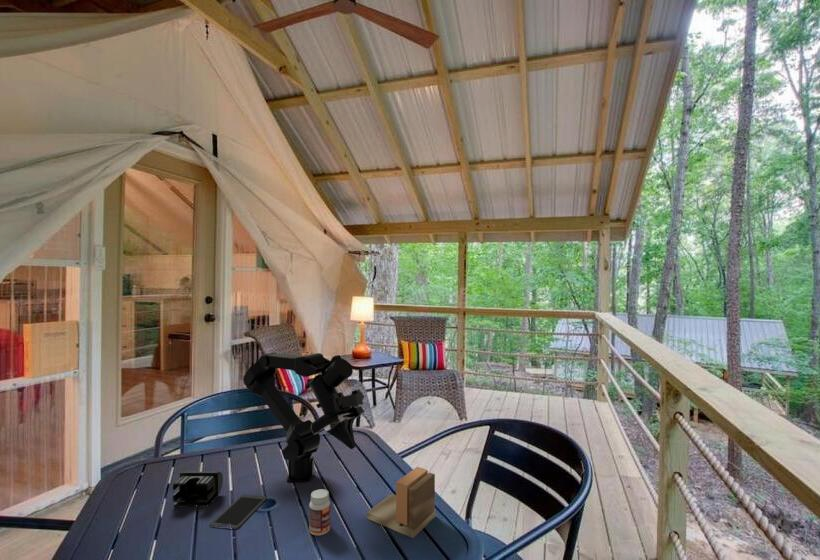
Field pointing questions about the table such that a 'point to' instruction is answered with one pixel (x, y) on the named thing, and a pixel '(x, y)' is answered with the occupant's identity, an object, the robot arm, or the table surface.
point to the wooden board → (406, 493)
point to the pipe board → (418, 508)
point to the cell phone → (239, 511)
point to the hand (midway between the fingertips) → (353, 448)
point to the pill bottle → (319, 512)
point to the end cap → (197, 488)
